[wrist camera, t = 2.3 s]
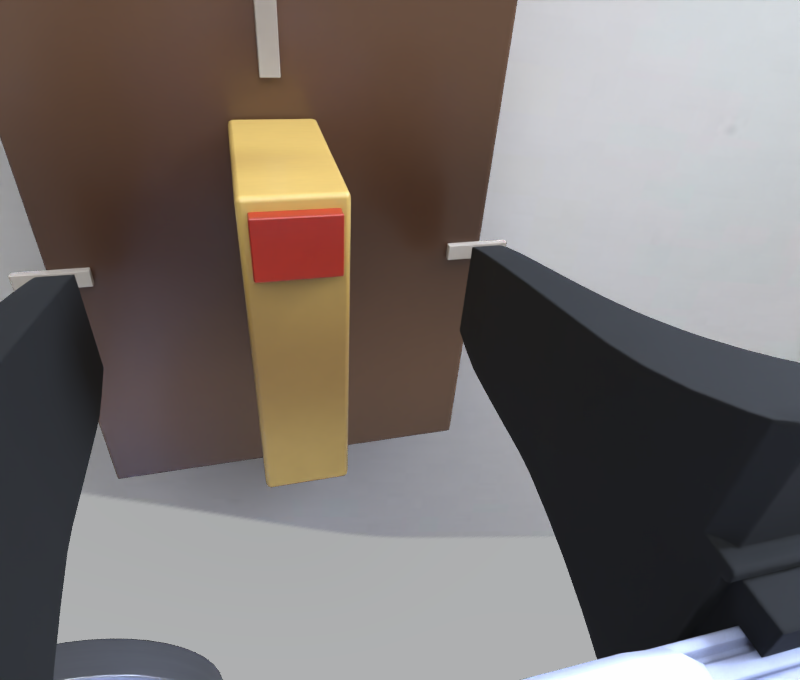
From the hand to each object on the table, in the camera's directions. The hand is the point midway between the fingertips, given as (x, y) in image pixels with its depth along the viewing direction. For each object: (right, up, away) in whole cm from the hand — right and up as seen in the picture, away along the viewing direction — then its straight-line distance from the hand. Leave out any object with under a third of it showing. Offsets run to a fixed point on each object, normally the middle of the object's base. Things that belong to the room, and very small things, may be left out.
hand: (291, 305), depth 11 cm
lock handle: (0, +1, +1) cm, 2 cm away
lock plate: (-1, +3, +4) cm, 5 cm away
